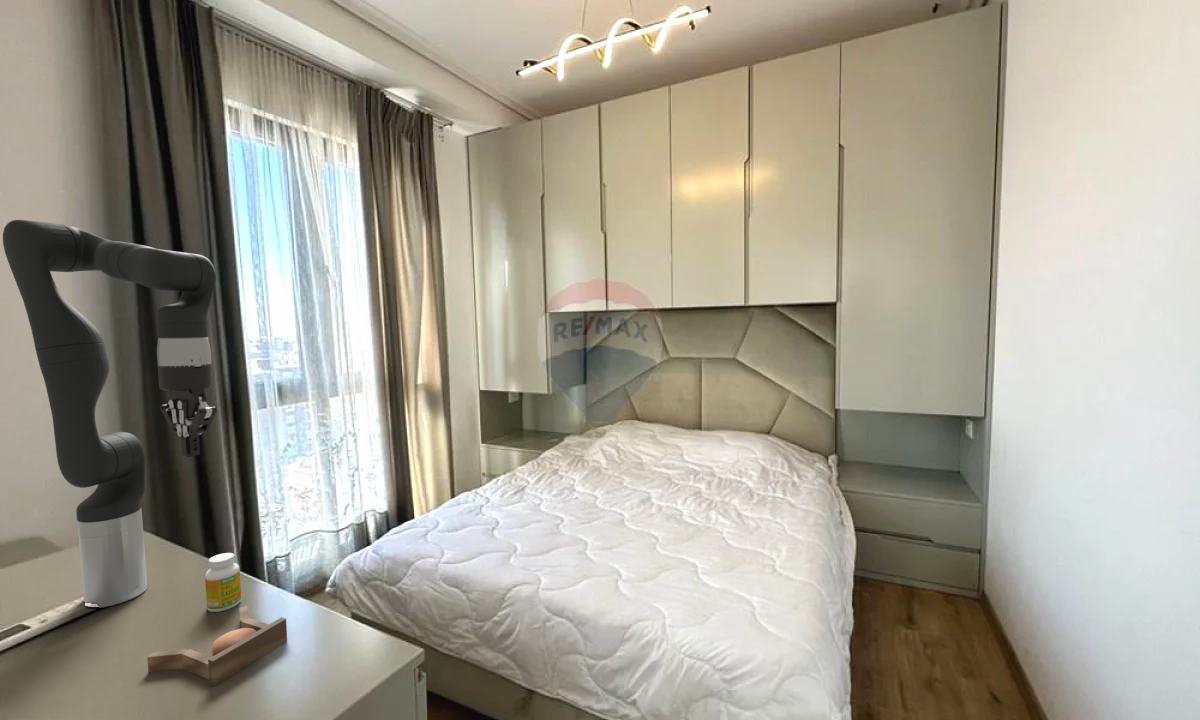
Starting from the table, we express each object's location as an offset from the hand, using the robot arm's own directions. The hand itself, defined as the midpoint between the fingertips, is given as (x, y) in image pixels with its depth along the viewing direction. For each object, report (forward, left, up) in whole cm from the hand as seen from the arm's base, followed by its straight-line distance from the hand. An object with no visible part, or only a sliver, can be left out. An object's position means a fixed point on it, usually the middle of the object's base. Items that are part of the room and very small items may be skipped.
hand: (191, 455), depth 91 cm
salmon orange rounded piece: (+17, -4, -31) cm, 36 cm away
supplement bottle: (0, +4, -31) cm, 31 cm away
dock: (+15, -5, -31) cm, 35 cm away
